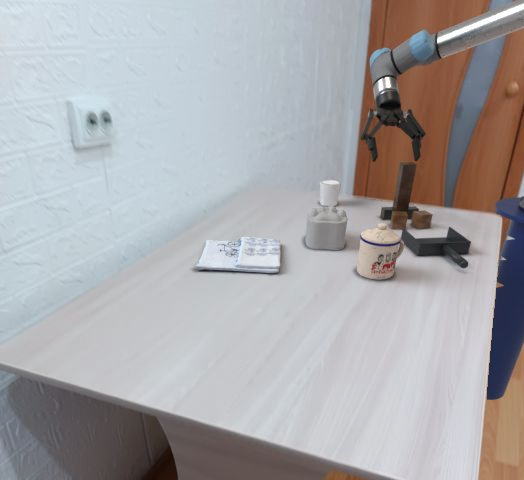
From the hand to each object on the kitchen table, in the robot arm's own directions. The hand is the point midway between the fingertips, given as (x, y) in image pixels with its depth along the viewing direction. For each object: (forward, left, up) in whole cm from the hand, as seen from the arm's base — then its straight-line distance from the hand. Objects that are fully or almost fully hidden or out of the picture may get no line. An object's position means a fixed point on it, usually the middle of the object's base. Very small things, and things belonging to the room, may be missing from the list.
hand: (396, 159), depth 146 cm
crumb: (-4, +17, -15) cm, 23 cm away
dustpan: (0, +38, -15) cm, 41 cm away
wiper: (0, +9, -15) cm, 18 cm away
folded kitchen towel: (+52, +35, -16) cm, 64 cm away
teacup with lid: (+20, +47, -16) cm, 53 cm away
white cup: (+18, -7, -16) cm, 25 cm away
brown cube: (+3, +17, -15) cm, 23 cm away
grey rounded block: (+28, +26, -16) cm, 41 cm away
